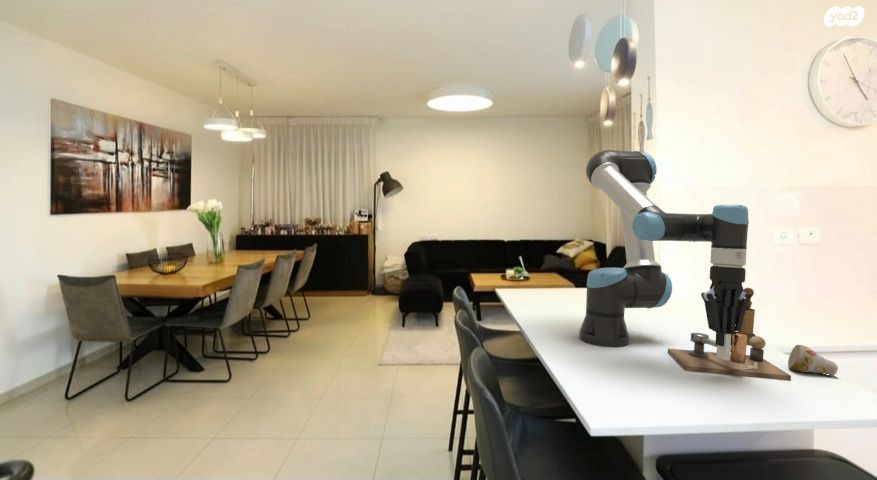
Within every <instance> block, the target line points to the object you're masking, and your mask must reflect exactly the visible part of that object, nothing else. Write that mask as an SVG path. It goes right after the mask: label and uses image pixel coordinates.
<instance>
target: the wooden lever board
mask: <svg viewBox="0 0 877 480" xmlns="http://www.w3.org/2000/svg"><path fill="white" fill-rule="evenodd" d="M693 343H694V345H693V349H692V350H691V349H690V350H689V349H680V348H679V349H678V348H667V353H668V355H670V356H671V358H672V359H674V360H675V362H676V363H678V365H679V366H681V368H682V369H683V370H684V371H688V372H700V373H709V374H720V375H721V374H722V375H730V376H738V377H739V376H741V377H749V378H750V377H751V378H761V379H774V380H781V381H782V380H783V381H791V380H792V375H791V374H789V373H788V372H786V371H785V370H782V369H781V368H780V367H778V366H776V365H774V364H772V363H771V362H770V361H768V360H766V359H765V358H764V353H765V352H764V351H765V350H764V348H765V347H766V340H765V338H763V337H761V336H759V335H756V336H754V337H752V338H751V339H750V346H751V347H750V349H749V355H748V354H746V362H745V364H738V363H734V362H731V361H730V360H723V359H721V358H718V357H717V352H715V351H705V344H700V343H695V342H693ZM730 357H731V353H730Z"/></svg>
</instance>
